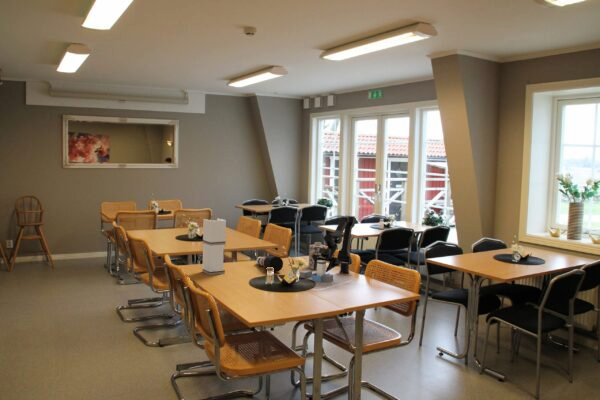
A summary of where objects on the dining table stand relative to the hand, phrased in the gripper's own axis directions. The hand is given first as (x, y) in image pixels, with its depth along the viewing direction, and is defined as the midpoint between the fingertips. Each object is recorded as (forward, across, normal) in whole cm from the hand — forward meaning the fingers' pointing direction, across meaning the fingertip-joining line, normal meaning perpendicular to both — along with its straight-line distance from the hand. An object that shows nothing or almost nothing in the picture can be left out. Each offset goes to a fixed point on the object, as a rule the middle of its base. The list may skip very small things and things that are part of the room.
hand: (320, 270), depth 319 cm
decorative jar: (-20, -27, +30) cm, 45 cm away
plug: (+3, 0, +5) cm, 6 cm away
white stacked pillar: (+25, -65, -15) cm, 71 cm away
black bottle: (0, -51, +11) cm, 52 cm away
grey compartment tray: (+4, -4, +6) cm, 8 cm away
